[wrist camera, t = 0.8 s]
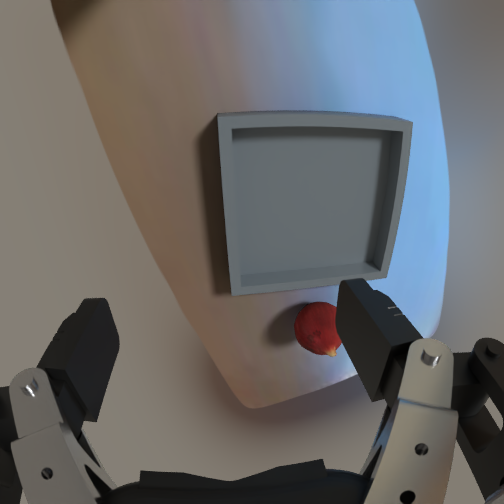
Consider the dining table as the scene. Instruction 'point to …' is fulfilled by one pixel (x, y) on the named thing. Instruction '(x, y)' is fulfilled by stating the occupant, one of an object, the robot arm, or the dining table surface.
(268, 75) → the dining table surface
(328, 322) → the onion
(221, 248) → the dining table surface
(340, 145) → the tray
